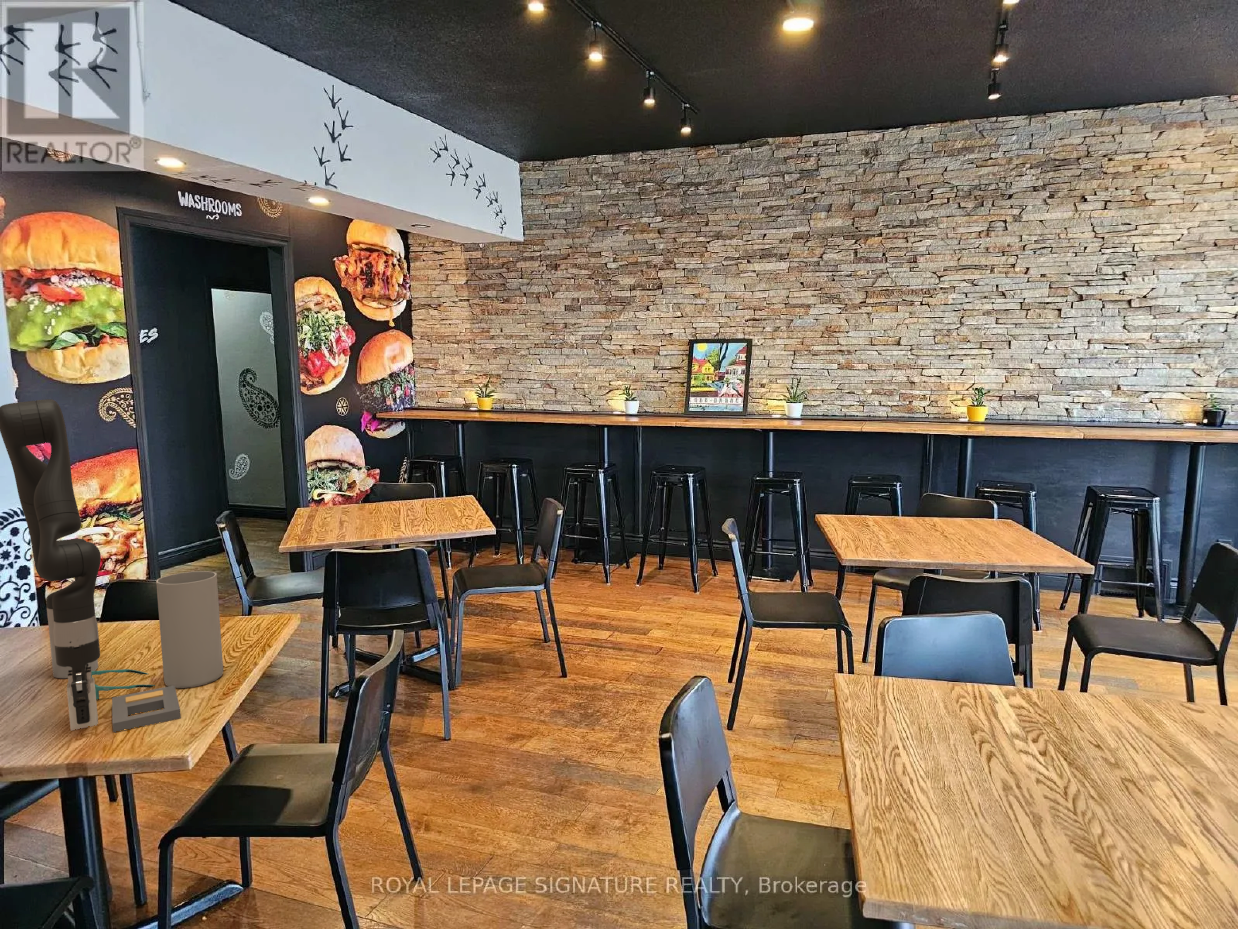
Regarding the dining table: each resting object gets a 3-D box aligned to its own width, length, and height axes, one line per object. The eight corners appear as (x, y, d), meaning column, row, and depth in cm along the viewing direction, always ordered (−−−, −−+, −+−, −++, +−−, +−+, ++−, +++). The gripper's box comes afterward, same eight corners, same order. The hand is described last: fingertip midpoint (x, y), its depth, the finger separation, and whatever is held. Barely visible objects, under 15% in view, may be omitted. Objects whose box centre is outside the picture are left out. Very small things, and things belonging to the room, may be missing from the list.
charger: (71, 723, 162) (67, 680, 161) (97, 718, 164) (94, 675, 163) (70, 730, 158) (66, 686, 157) (97, 725, 161) (93, 681, 160)
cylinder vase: (161, 677, 187) (153, 576, 184) (218, 666, 194) (211, 568, 191) (167, 693, 177) (159, 587, 174) (227, 681, 184) (220, 578, 181)
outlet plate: (112, 706, 170) (111, 696, 170) (175, 693, 177) (174, 684, 176) (113, 733, 157) (112, 722, 157) (180, 718, 163) (179, 707, 163)
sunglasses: (73, 688, 181) (74, 667, 181) (147, 678, 191) (147, 658, 191) (80, 707, 171) (81, 684, 171) (157, 695, 180) (158, 674, 180)
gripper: (56, 633, 163) (63, 711, 165) (52, 652, 151) (60, 736, 153) (98, 627, 167) (105, 703, 169) (98, 645, 155) (105, 726, 157)
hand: (83, 718), depth 161 cm, fingers closed on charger, 4 cm apart
